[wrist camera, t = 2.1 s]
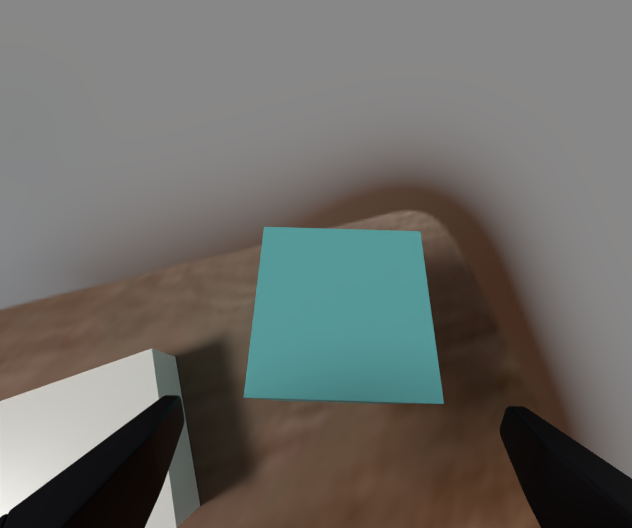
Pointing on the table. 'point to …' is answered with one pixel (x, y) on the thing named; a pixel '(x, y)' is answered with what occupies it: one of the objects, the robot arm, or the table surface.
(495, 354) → the table surface
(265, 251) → the tall brick
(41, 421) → the base brick
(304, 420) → the table surface
